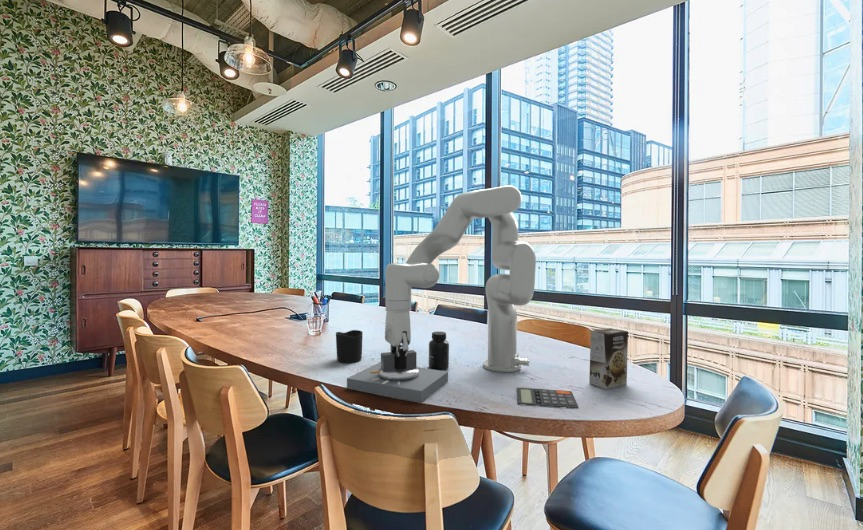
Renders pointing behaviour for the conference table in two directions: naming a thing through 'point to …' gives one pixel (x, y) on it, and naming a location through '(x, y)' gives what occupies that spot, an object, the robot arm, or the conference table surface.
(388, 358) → the gray block on plate
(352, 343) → the pen holder
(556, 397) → the calculator
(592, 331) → the coffee box
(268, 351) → the conference table surface
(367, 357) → the conference table surface
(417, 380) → the stand
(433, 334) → the supplement bottle
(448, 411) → the conference table surface
